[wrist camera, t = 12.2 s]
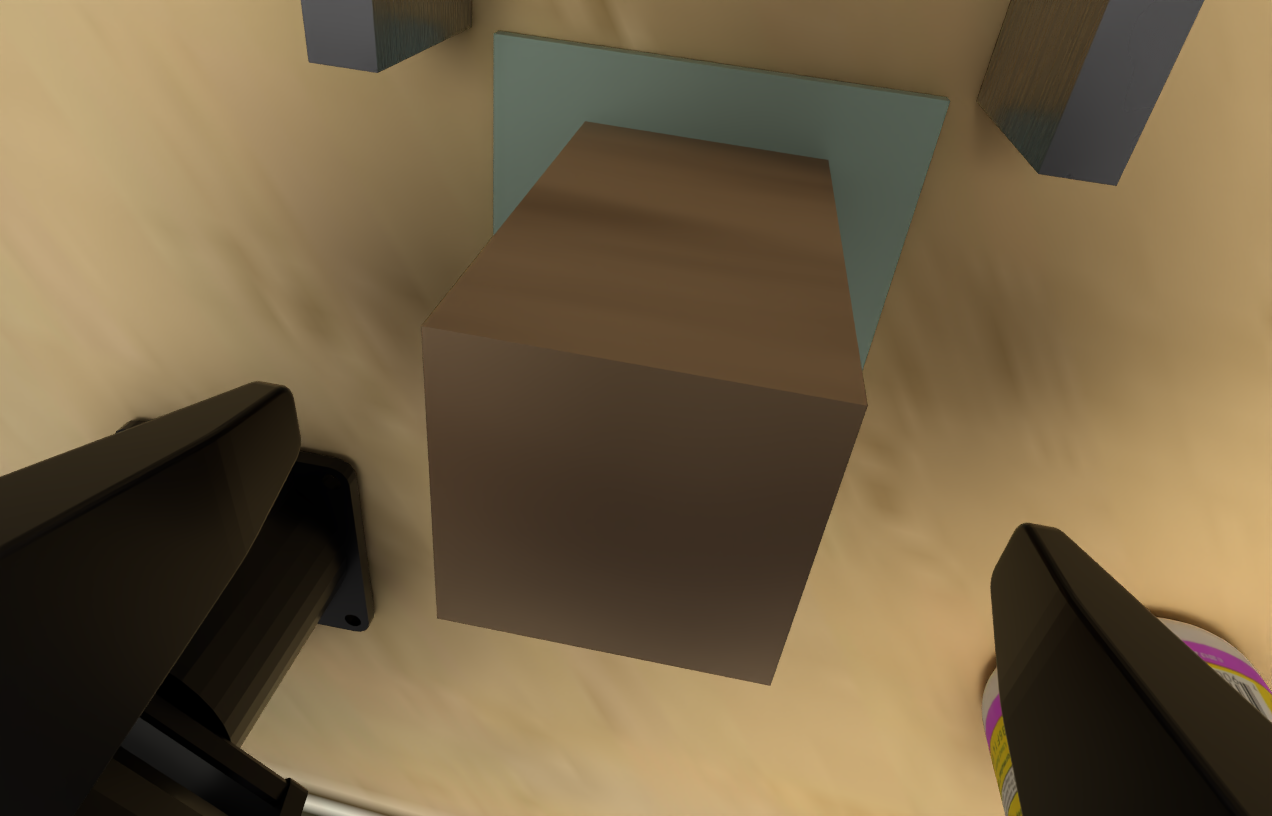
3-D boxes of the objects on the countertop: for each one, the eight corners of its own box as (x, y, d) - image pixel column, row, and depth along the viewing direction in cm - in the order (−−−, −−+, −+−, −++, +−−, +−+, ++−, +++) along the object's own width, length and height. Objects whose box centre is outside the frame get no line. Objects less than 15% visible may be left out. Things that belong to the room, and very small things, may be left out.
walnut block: (775, 368, 17) (770, 686, 10) (569, 332, 17) (437, 618, 10) (828, 160, 14) (867, 405, 8) (585, 121, 14) (421, 325, 8)
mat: (842, 420, 18) (842, 428, 17) (496, 360, 18) (493, 366, 18) (947, 97, 13) (950, 100, 13) (498, 30, 14) (493, 33, 14)
